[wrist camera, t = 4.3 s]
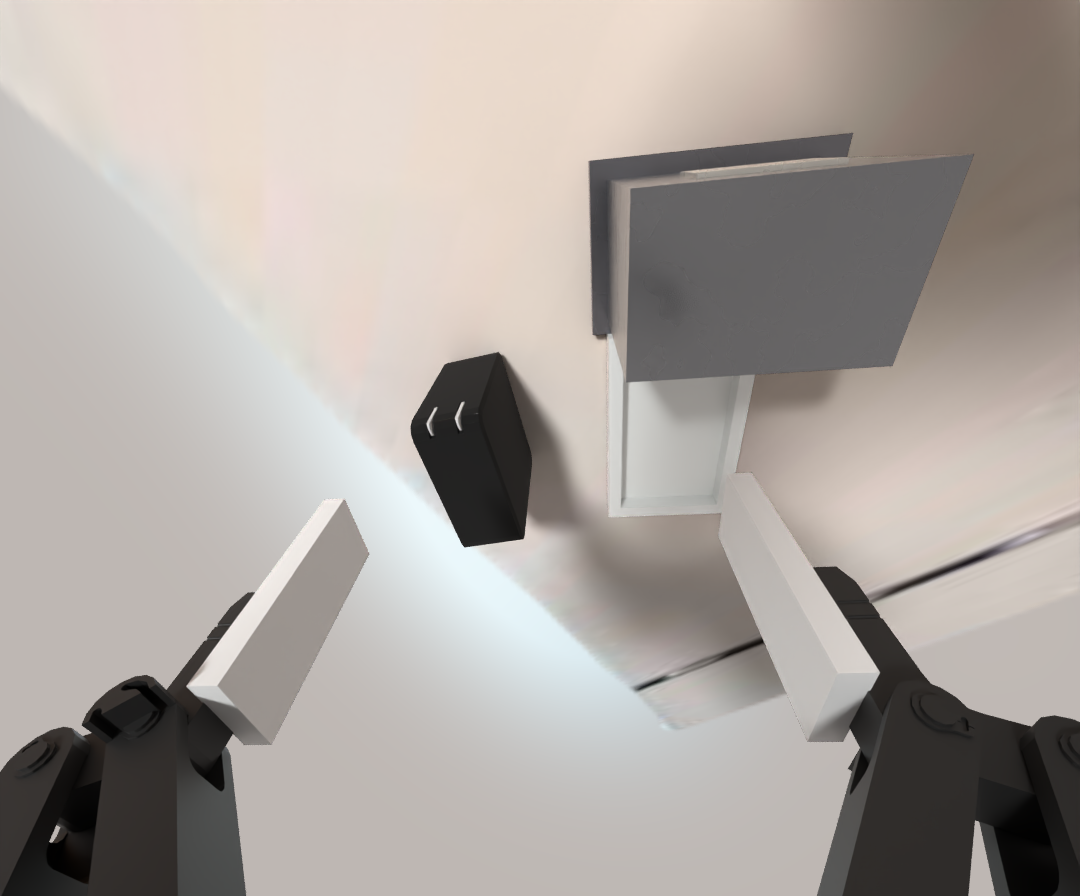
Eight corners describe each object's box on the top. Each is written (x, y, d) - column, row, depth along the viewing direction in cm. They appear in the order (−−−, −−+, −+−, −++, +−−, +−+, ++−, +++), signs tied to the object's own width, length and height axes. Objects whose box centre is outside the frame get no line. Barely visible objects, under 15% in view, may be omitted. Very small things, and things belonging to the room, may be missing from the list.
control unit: (588, 161, 25) (603, 159, 16) (844, 133, 24) (1019, 115, 15) (592, 331, 30) (605, 402, 21) (800, 316, 29) (907, 384, 20)
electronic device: (486, 466, 37) (464, 553, 29) (446, 359, 32) (405, 429, 24) (533, 458, 36) (524, 545, 28) (500, 347, 31) (477, 415, 23)
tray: (606, 330, 30) (608, 339, 29) (754, 319, 29) (764, 328, 28) (607, 503, 39) (608, 517, 37) (720, 499, 38) (727, 513, 37)
